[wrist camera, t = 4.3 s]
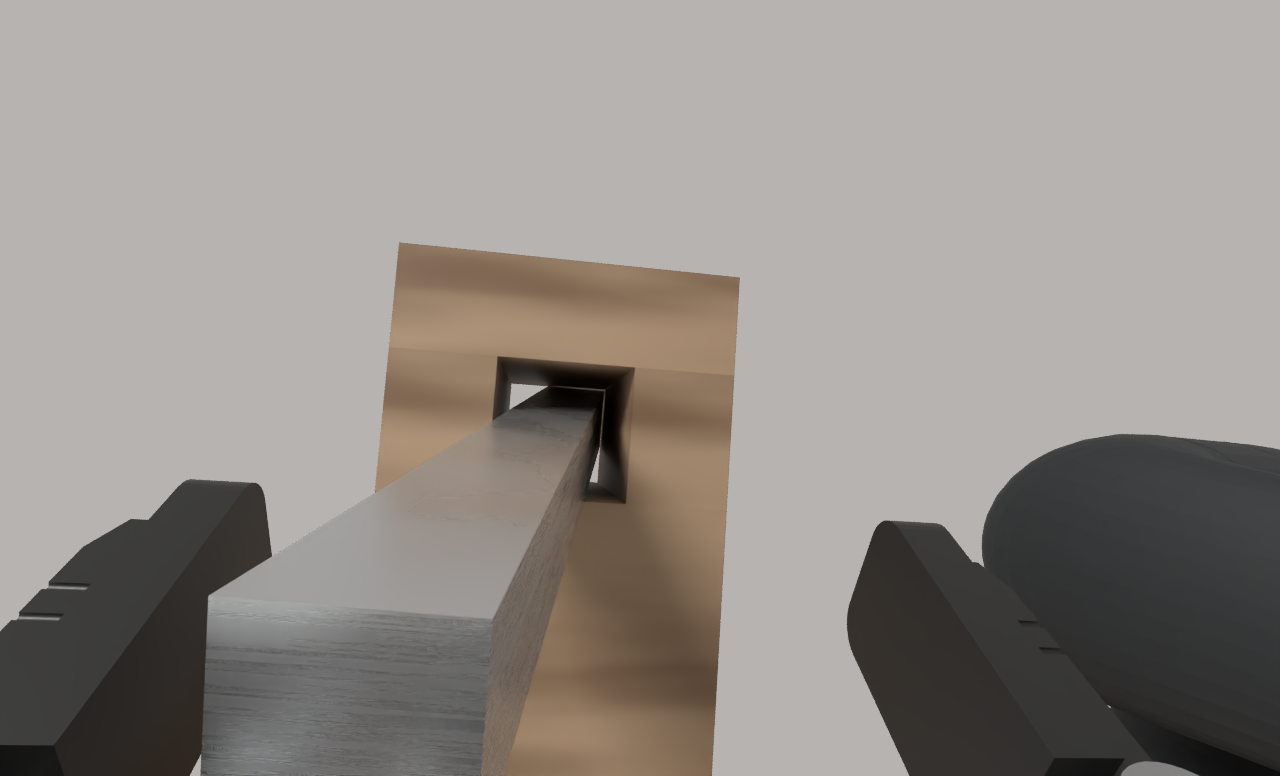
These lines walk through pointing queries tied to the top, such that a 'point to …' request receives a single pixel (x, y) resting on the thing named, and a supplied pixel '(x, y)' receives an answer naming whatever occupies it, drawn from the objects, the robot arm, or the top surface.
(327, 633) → the pin
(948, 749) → the robot arm
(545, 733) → the post
